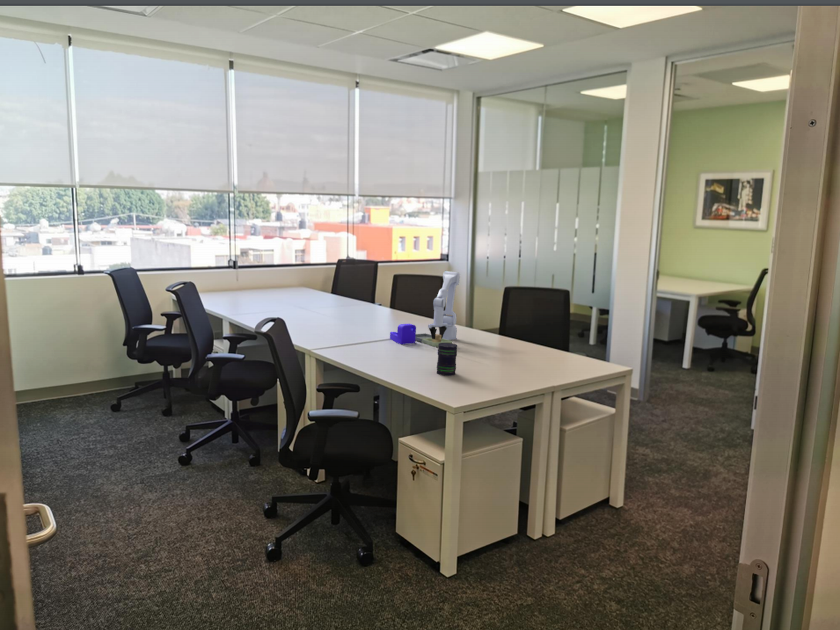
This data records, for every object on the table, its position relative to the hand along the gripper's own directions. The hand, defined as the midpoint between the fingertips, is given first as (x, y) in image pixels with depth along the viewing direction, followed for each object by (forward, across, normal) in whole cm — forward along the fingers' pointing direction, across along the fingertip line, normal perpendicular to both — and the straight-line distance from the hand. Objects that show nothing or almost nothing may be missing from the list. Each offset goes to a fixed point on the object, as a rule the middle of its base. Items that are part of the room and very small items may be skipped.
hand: (437, 338), depth 391 cm
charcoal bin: (+3, 0, -14) cm, 14 cm away
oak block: (+3, 0, 0) cm, 3 cm away
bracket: (+4, +16, -17) cm, 24 cm away
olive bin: (+3, 0, 0) cm, 3 cm away
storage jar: (+4, +44, +58) cm, 73 cm away
